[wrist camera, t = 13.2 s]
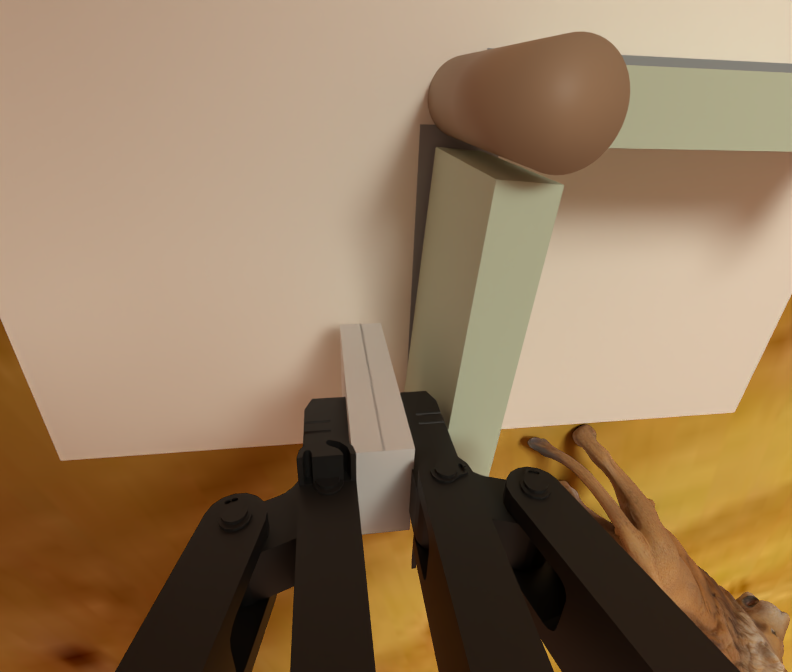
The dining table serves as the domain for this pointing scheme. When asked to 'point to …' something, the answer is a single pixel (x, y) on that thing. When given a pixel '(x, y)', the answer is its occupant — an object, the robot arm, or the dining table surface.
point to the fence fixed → (602, 104)
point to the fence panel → (477, 291)
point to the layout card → (350, 214)
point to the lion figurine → (677, 564)
